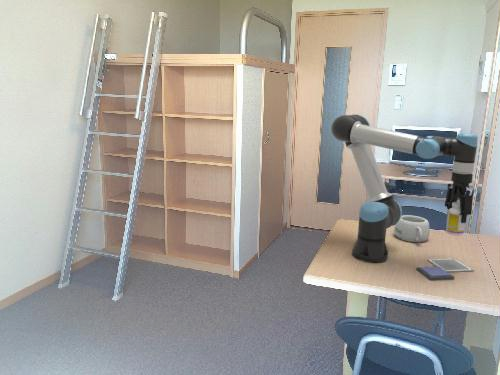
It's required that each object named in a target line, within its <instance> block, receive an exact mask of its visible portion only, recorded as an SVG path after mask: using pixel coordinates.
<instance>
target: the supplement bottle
mask: <svg viewBox="0 0 500 375" xmlns="http://www.w3.org/2000/svg"><path fill="white" fill-rule="evenodd" d="M447 213H448V219H447V218H446V222H447V225H446V226H445V227H446V228H445V232H446V233H447V234H448V235H452V236H457V237H459V236H463V235H464V232H465V229H464V230H457V227H458V219H459V214H461V210H460V201H459V202H458V201H457V202H453V203H452V208H450V209H449V211H448V210H447Z"/></svg>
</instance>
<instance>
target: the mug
mask: <svg viewBox="0 0 500 375" xmlns="http://www.w3.org/2000/svg"><path fill="white" fill-rule="evenodd" d="M393 233H394V236H396V238H398V239H399V240H402V241H405V242H412V243H422V242H426V241H427V240H429V237H430V222H429V221H428V219H426V218H424V217H422V216H417V215H410V214H402V216H401V218H400V220H399V221H398V222H397V223H396V224H395V225H394V229H393Z"/></svg>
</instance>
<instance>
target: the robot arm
mask: <svg viewBox="0 0 500 375" xmlns="http://www.w3.org/2000/svg"><path fill="white" fill-rule="evenodd" d="M330 128H331V134H332V135H333V137H334V138H335V139H336V140H338V141H339V142H344V144H345V146H346V149H349V150H351V152H352V155H353V158H354V162H355V163H356V167H357V169H358V172H359V175H360V177H361V180H362V183H363V186H364V188H365V190H366V193H367V196H368V200H367V202H364V203H363V204H362V205H361V206H360V210H359V213H358V216H359V217H358V228H357V238H356V240H355V243H354V245H353V247H352V250H351V255H352V257H353V258H354V259H356V260H359V261H361V262H365V263H373V264H374V263H377V264H379V263H380V264H381V263H384V262H386V261H387V260H388V257H389V253H388V249H387V244H386V236H387V229H389V228H391V227H393V226H395V224H396V223H397V222H398V221H399V220H400V218H401V216H403V210H402V205H400V203H399V202H398V201H396V200H395V198H394V196H393V194H392V193H390V192H389V191H388V189H387V187H386V184H385V182H384V181H385V180H384V179H383V176H382V174H381V170H380V168H379V166H378V163H377V160H376V157H375V155H374V152H373V150H372V148H371V146H376V147H378V148H383V149H387V150H391V151H392V150H393V151H397V152H401V153H406V154H411V155H415V156H419V158H422V159H423V160H431V159H434V158H436V157H439V156H444V157H445V156H447V157H453V163H452V169H451V170H452V172H451V178H450V180H451V182H452V183H447V191H446V196H445V202H444V206H445V207H446V208H447V214H446V220H447V219H448V211H449V209H450V208H452V203H453V202H458V200H459V202H460V210H461V214H459V219H458V227H457V230H464V231H465V228H466V223H467V218H468V217H467V216H471V215H472V211H473V210H472V209H473V200H474V199H473V198H474V194H475V190H474V189H471V188H470V184H471V183H473V176H474V174H473V172H474V169H475V162H476V154H477V148H478V138H479V137H478V135H477V134H475V133H467V132H465V133H463V132H462V133H457V134H456V137H447V136H437V135H428V136H426V137H425V136H420V135H415V134H410V133H405V132H400V131H396V130H392V129H386V128H382V127H376V126H372V125H371V123H370V122H369V120H368V118H367V117H365V116H363V115H361V114H354V113H353V114H344V115H339V116H338V117H336V118H335V119H334V120H333V122H332V124H331V127H330ZM446 226H447V221H446Z"/></svg>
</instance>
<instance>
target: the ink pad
mask: <svg viewBox="0 0 500 375" xmlns="http://www.w3.org/2000/svg"><path fill="white" fill-rule="evenodd" d="M415 271H417V272H418V273H420V274H421V275H422V276H424V277H425V278H426V279H428V280H429V281H449V280H454V279H455V276H454V275H453V274H451V272H447V271H445V270H444V269H442V268H441V267H439V266H435V265H434V266H418V267H416V269H415Z"/></svg>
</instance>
